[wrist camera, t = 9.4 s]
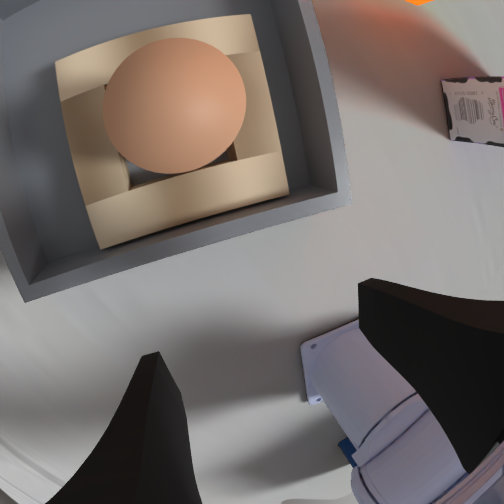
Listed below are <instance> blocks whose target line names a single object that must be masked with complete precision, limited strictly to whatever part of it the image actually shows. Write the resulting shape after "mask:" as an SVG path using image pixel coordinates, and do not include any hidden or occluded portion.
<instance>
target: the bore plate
mask: <svg viewBox="0 0 504 504" xmlns="http://www.w3.org/2000/svg"><path fill="white" fill-rule="evenodd" d="M167 38H189V39H195V40H199V41H202V42H205V43H207V44H209V45H212V46H213V47H215V48H217V49H218V50H220V51H221V52H222V53H223V54H225V55H226V56H227V57H228V58H229V59H230V60H231V61H232V62H233V64H234V65H235V67H236V68H237V70H238V72H239V73H240V75H241V78H242V80H243V83H244V87H245V92H246V112H245V116H244V120H243V123H242V126H241V129H240V131H239V132H238V134H237V136H236V138H235V139H234V141H233V142H232V144H231V145H230V146H229V147H228V148H227V151H228V156H229V159H228V160H224V161H220V162H216V163H212V164H208V165H204V166H203V167H200V168H197V169H195V170H192V171H188V172H183V173H175V174H171V175H168V176H164V177H161V178H158V179H154V180H151V181H148V182H145V183H142V184H138V185H135V186H133V184H132V181H131V177H130V173H129V170H128V166H127V162H126V158H124V157H123V156H122V155H121V154H120V153H119V152H118V151H117V149H116V148H115V147H114V145H113V144H112V142H111V141H110V139H109V137H108V135H107V132H106V129H105V126H104V121H103V110H102V108H103V98H104V94H105V90H106V87H107V85H108V82H109V80H110V78H111V77H112V75H113V73H114V72H115V70H116V69H117V68H118V66H119V65H120V64H121V63H122V62H123V61H124V60H125V59H126V58H127V57H128V56H129V55H131V54H132V53H133V52H135V51H136V50H138V49H139V48H141V47H143V46H145V45H147V44H149V43H152V42H155V41H158V40H163V39H167ZM55 67H56V75H57V83H58V90H59V96H60V102H61V108H62V113H63V119H64V124H65V129H66V134H67V138H68V143H69V147H70V151H71V156H72V160H73V164H74V167H75V171H76V175H77V179H78V182H79V186H80V189H81V193H82V196H83V199H84V203H85V206H86V209H87V212H88V215H89V219H90V222H91V225H92V228H93V230H94V233H95V236H96V239H97V242H98V245H99V247H100V250H101V249H104V248H107V247H110V246H113V245H116V244H119V243H122V242H125V241H128V240H131V239H135V238H138V237H141V236H144V235H147V234H150V233H154V232H157V231H160V230H163V229H167V228H170V227H173V226H177V225H180V224H183V223H187V222H190V221H193V220H197V219H200V218H204V217H207V216H211V215H214V214H218V213H221V212H225V211H228V210H232V209H236V208H239V207H243V206H247V205H250V204H254V203H258V202H262V201H265V200H269V199H273V198H277V197H281V196H285V195H289V188H288V183H287V177H286V172H285V166H284V161H283V156H282V151H281V145H280V140H279V135H278V130H277V126H276V121H275V116H274V111H273V106H272V102H271V97H270V93H269V88H268V84H267V79H266V75H265V70H264V66H263V62H262V58H261V53H260V49H259V45H258V41H257V37H256V33H255V29H254V25H253V21H252V17H251V14H244V15H232V16H223V17H214V18H207V19H200V20H194V21H188V22H182V23H177V24H172V25H167V26H162V27H158V28H154V29H149V30H145V31H141V32H138V33H134V34H130V35H127V36H124V37H120V38H117V39H114V40H111V41H108V42H105V43H102V44H99V45H96V46H93V47H90V48H88V49H85V50H82V51H80V52H77V53H75V54H72V55H70V56H67V57H65V58H63V59H60V60H58V61H56V62H55Z"/></svg>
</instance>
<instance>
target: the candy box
mask: <svg viewBox="0 0 504 504" xmlns="http://www.w3.org/2000/svg"><path fill="white" fill-rule="evenodd" d="M441 82H442V86H443V93H444V98H445V103H446V109H447V116H448V125H449V132H450V139H451V140H452V141H462V142H471V143H479V144H487V145H493V146H500V147H504V77H468V78H453V79H443V80H441Z"/></svg>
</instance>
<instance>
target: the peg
mask: <svg viewBox="0 0 504 504" xmlns="http://www.w3.org/2000/svg"><path fill="white" fill-rule="evenodd" d="M102 110H103V121H104V126H105V129H106V132H107V135H108V137H109V139H110V141H111V142H112V144H113V145H114V147H115V148H116V149H117V151H118V152H119V153H120V154H121V155H122V156H123V157H124V158H126V159H127V160H128V161H130V162H131V163H133V164H135V165H136V166H138V167H140V168H143V169H145V170H148V171H152V172H156V173H164V174H175V173H183V172H188V171H192V170H195V169H197V168H200V167H203V166H204V165H206V164H208V163H210V162H212V161H213V160H215V159H216V158H217V157H219V156H220V155H221V154H222V153H223V152H224V151H226V149H227V148H228V147H229V146H230V145H231V144H232V142H233V141H234V139H235V138H236V136H237V134H238V132H239V131H240V129H241V126H242V123H243V120H244V116H245V112H246V92H245V87H244V83H243V80H242V78H241V75H240V73H239V72H238V70H237V68H236V67H235V65H234V64H233V62H232V61H231V60H230V59H229V58H228V57H227V56H226V55H225V54H223V53H222V52H221V51H220V50H218V49H217V48H215V47H213V46H212V45H209V44H207V43H205V42H202V41H199V40H195V39H189V38H167V39H163V40H158V41H155V42H152V43H149V44H147V45H145V46H143V47H141V48H139V49H138V50H136V51H135V52H133V53H132V54H131V55H129V56H128V57H127V58H126V59H125V60H124V61H123V62H122V63H121V64H120V65H119V66H118V68H117V69H116V70H115V72H114V73H113V75H112V77H111V78H110V80H109V82H108V85H107V87H106V90H105V94H104V98H103V108H102Z"/></svg>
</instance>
